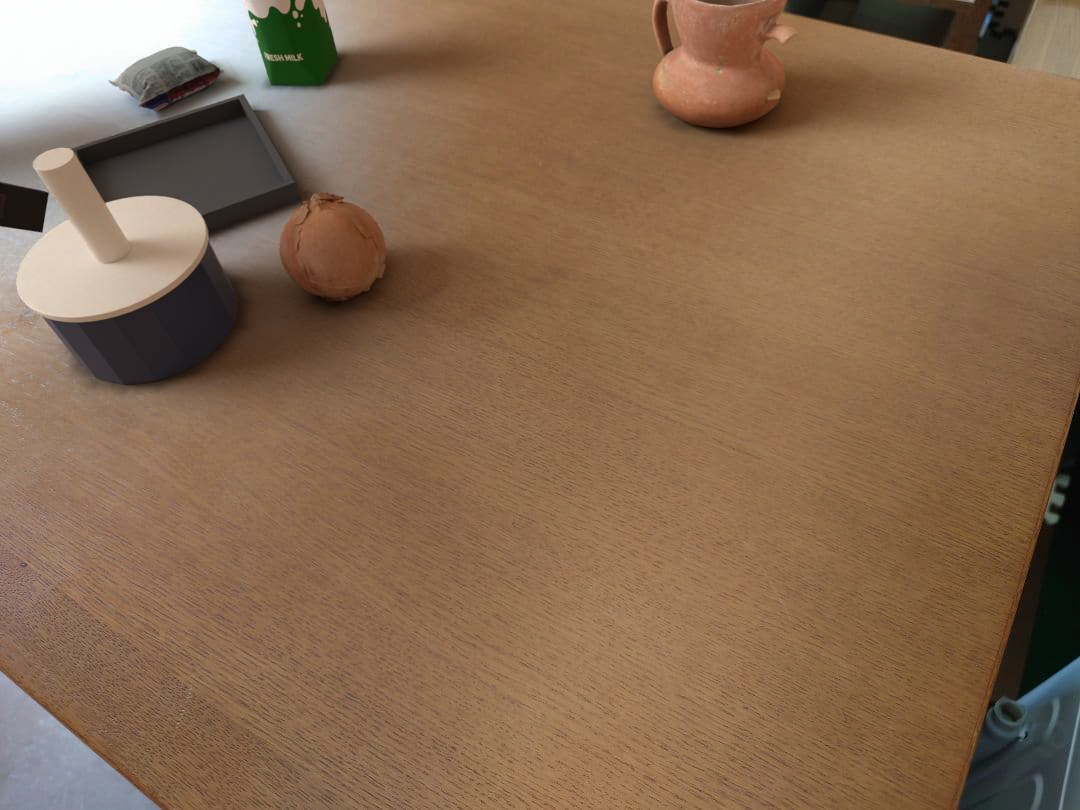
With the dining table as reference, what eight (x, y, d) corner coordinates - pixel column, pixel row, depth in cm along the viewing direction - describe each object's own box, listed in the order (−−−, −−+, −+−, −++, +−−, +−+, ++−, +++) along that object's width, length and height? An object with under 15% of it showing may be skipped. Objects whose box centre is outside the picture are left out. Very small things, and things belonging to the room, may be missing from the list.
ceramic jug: (816, 107, 88) (845, -26, 77) (731, 162, 82) (749, 27, 71) (695, 55, 97) (706, -70, 86) (612, 102, 91) (612, -26, 80)
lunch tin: (71, 310, 75) (19, 241, 68) (219, 256, 79) (183, 185, 72) (92, 411, 66) (35, 343, 60) (257, 345, 70) (220, 274, 63)
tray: (80, 168, 91) (68, 149, 89) (251, 113, 96) (243, 93, 94) (107, 273, 78) (94, 252, 76) (302, 202, 83) (294, 182, 81)
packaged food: (118, 100, 100) (99, 63, 96) (200, 64, 105) (185, 27, 101) (148, 124, 96) (130, 87, 92) (232, 85, 101) (218, 48, 97)
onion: (342, 285, 79) (313, 186, 75) (417, 282, 75) (390, 176, 70) (276, 318, 72) (240, 210, 67) (355, 317, 67) (321, 201, 63)
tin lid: (17, 245, 69) (-60, 143, 61) (190, 186, 73) (139, 83, 65) (33, 355, 60) (-55, 252, 52) (230, 281, 64) (176, 174, 56)
